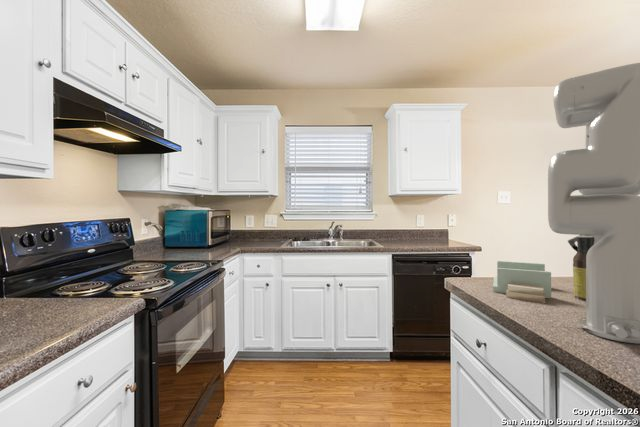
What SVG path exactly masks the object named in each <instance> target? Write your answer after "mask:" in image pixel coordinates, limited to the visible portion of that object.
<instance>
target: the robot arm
mask: <svg viewBox="0 0 640 427" xmlns="http://www.w3.org/2000/svg"><path fill="white" fill-rule="evenodd" d="M552 100H553V107H554V113H555V119H556V122H557V124H558V126H559V127H560V128H562V129H571V128H577V127H584V126H585V148H579V149H571V150H564V151H560V152H558V153H555V154H554V155H553V156H552V157H551V159H550V161H549V163H548V170H547V220H548V225H549V228H550V229H551V231H552V232H554V233H556V234H558V235H560V234H561V235H571V236H572V235H573V236H574V235H575V237H572V238H571V239H568V240H567V242H568V244H569V245H570V247H571V248H572V249H573V250H574V251H575V252H577V251H578V250H577V249H578V246H577V244H576V243H577V241H576V237H577V236H592V237H594V240H595V241H594V245H593V246H592V247H591V248H590V249H589V250H588V252H587V255H586V301H585V302H586V317H582V318H579V319H578V323H579V324H580V325H581V326H583V327H580V329H582V330H583V331H585V332H587V333H589V334H592V335H594V336H596V337H597V336H598V337H600V338H604V339H606V340H611V341H616V342H622V343H629V344H640V62H634V63H630V64H625V65H620V66H616V67H612V68H607V69H603V70H599V71H594V72H591V73H586V74H583V75H577V76H573V77H569V78H566V79H563V80H562V81H560V82H559V83H557V85H556V86H555V88H554V91H553V98H552ZM575 191H578V192H579V193H580V194H579V195H572V193H574V192H575ZM576 235H577V236H576Z"/></svg>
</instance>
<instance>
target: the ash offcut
mask: <svg viewBox="0 0 640 427" xmlns="http://www.w3.org/2000/svg"><path fill="white" fill-rule="evenodd" d="M508 291H511V292H519V293H526V294H533V295H540V296H543V295H544V287H542V286H534V285H526V284H518V283H510V282H509V284H508Z"/></svg>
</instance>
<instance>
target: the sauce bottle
mask: <svg viewBox="0 0 640 427" xmlns="http://www.w3.org/2000/svg"><path fill="white" fill-rule="evenodd" d="M575 237H576V246H577V247H578V249H577V250H578V251H576V254H575V255H574V256H573V259H572V262H573V263H572V274H573V276H572V277H573V278H572V279H573V294H574V298H575V299H577V300H580V301H583V302H586V255H587V252H588V250H589V249H590V248H591V247H592V246H593V245H594V241H595V240H594V237H592V236H579V235H577V236H575Z"/></svg>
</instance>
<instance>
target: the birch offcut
mask: <svg viewBox="0 0 640 427" xmlns="http://www.w3.org/2000/svg"><path fill="white" fill-rule="evenodd" d="M505 297H506V298H509V299H515V298H516V300H522V299H523V300H524V301H530V302H536V303H537V302H538V303H544V302H545V303H546V298H545V293H544V295H543V296H540V295H533V294H526V293H519V292H511V291H508V289H507V291H506V293H505ZM545 303H544V304H545Z"/></svg>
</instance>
